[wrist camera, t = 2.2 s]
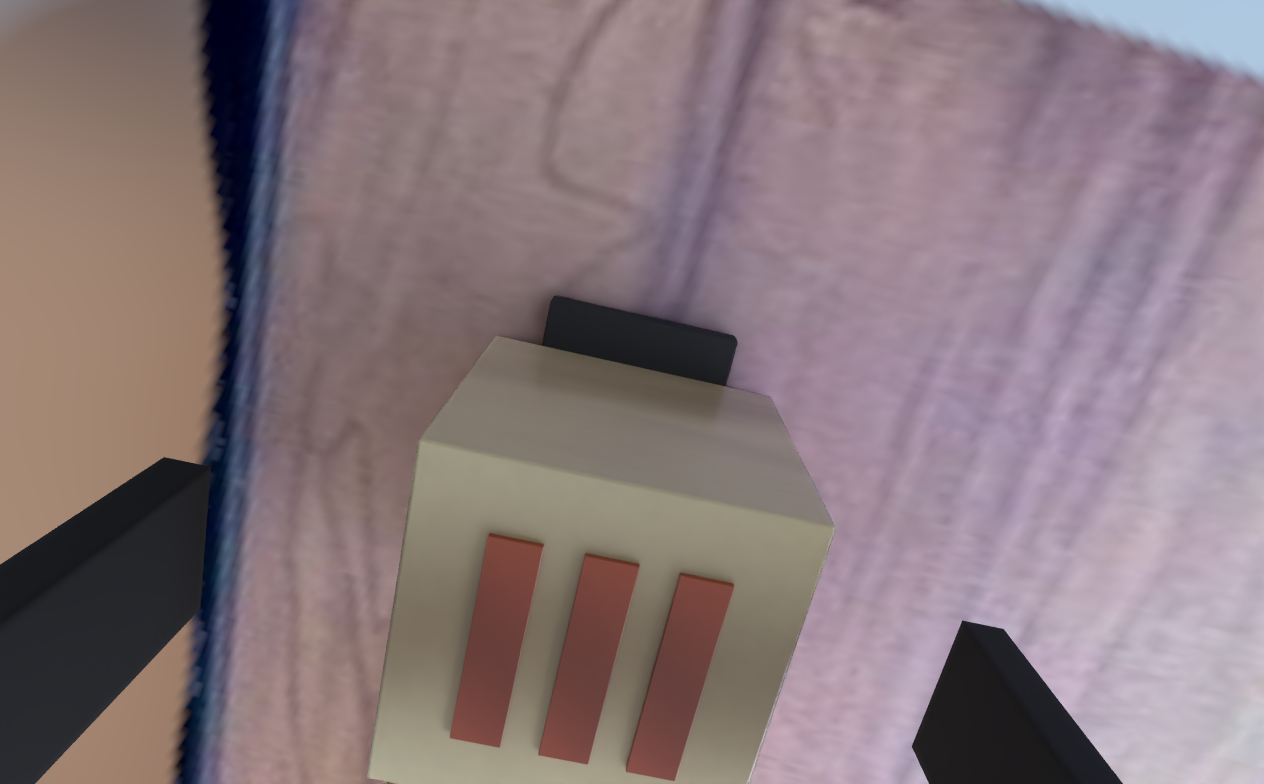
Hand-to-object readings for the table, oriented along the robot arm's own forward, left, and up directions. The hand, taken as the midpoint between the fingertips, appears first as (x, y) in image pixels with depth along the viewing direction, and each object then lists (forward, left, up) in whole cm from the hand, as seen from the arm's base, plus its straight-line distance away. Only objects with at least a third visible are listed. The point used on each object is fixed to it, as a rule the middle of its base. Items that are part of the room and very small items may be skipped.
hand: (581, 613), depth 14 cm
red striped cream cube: (0, 0, -4) cm, 4 cm away
